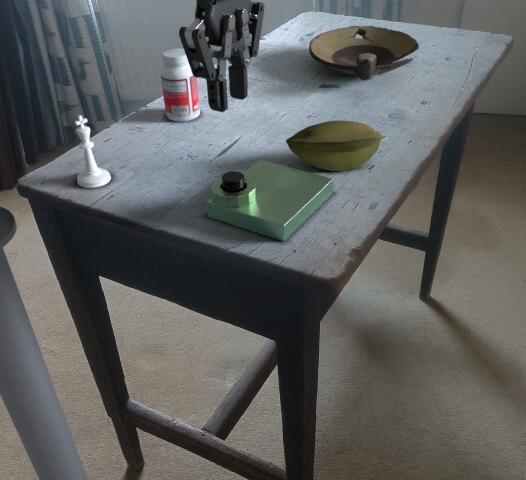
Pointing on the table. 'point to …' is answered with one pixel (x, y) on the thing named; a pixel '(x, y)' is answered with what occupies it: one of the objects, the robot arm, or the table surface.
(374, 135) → the fruit
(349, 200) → the table surface
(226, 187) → the button
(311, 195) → the scale
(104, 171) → the chess piece
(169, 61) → the pill bottle
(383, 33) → the broken bowl
